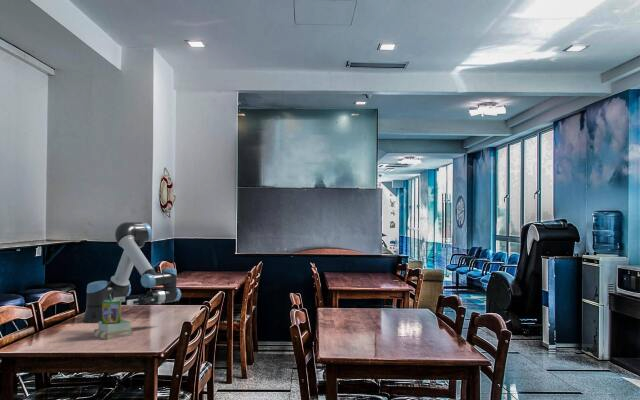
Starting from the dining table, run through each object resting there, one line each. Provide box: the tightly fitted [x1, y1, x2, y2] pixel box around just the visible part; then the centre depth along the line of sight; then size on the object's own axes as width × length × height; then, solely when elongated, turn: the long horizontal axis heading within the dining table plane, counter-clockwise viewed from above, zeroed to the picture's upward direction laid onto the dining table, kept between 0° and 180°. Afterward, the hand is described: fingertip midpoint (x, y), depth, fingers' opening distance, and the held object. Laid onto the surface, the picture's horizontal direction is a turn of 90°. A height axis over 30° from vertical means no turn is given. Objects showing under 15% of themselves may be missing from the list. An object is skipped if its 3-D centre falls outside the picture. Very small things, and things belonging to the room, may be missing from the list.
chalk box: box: [102, 294, 122, 324], centre depth 281 cm, size 9×9×15 cm
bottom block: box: [93, 328, 133, 340], centre depth 281 cm, size 14×14×4 cm
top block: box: [98, 318, 131, 333], centre depth 282 cm, size 12×12×4 cm
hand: (120, 301), depth 284 cm, fingers open, 13 cm apart
